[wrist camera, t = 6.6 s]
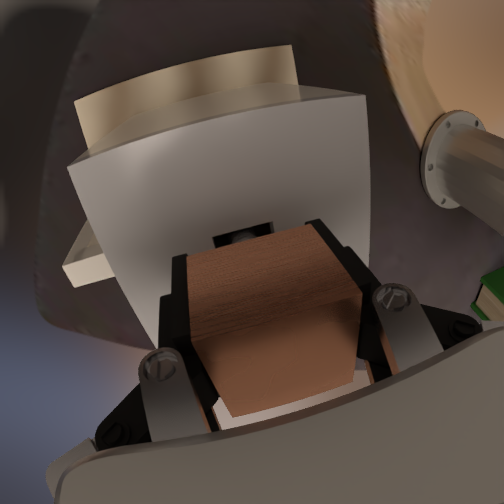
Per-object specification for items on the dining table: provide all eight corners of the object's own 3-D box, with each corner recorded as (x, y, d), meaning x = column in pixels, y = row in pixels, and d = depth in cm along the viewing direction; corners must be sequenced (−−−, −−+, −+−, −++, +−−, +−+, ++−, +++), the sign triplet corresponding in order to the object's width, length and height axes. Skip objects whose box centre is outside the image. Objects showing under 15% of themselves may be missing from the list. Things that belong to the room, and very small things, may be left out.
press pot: (267, 82, 22) (365, 95, 10) (287, 201, 28) (364, 309, 16) (93, 130, 21) (-2, 200, 9) (134, 242, 27) (109, 375, 15)
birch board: (287, 45, 21) (291, 44, 20) (310, 209, 30) (314, 214, 29) (77, 100, 20) (74, 101, 19) (134, 256, 29) (133, 262, 28)
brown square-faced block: (260, 101, 21) (446, 188, 6) (277, 199, 26) (397, 388, 10) (150, 128, 21) (56, 289, 5) (179, 225, 25) (190, 450, 10)
